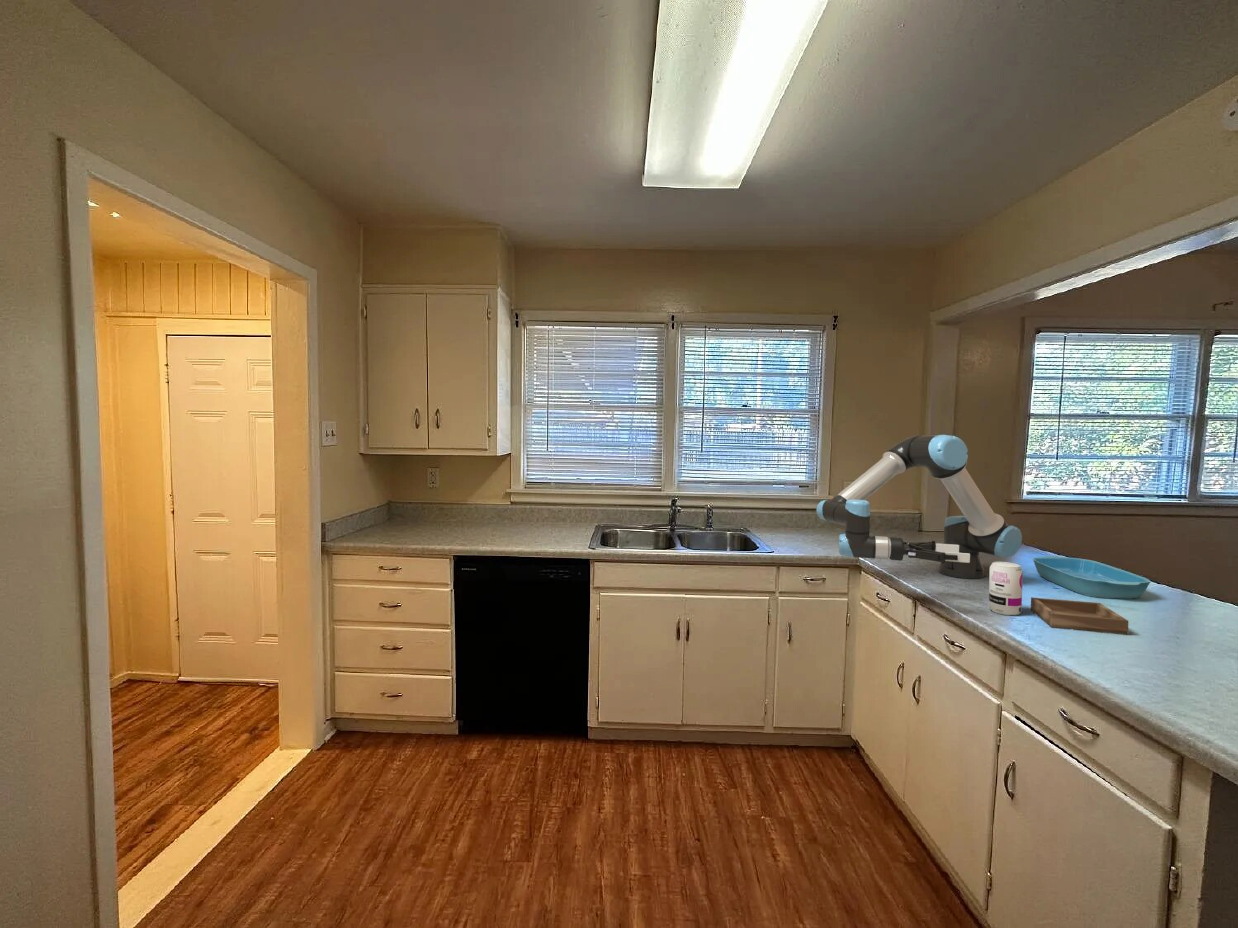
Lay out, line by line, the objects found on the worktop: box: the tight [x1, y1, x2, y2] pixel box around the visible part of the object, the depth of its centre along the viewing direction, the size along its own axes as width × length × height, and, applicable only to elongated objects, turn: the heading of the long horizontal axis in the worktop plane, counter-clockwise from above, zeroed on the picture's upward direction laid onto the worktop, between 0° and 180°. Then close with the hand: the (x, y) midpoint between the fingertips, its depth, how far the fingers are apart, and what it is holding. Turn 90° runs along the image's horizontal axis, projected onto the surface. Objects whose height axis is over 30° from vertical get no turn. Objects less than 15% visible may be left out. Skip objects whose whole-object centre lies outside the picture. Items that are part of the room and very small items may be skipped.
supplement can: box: [988, 561, 1024, 616], centre depth 162 cm, size 8×8×15 cm
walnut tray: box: [1030, 597, 1129, 636], centre depth 153 cm, size 16×17×4 cm
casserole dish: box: [1032, 555, 1151, 600], centre depth 187 cm, size 37×22×7 cm, turn 171°
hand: (964, 553), depth 165 cm, fingers open, 13 cm apart
